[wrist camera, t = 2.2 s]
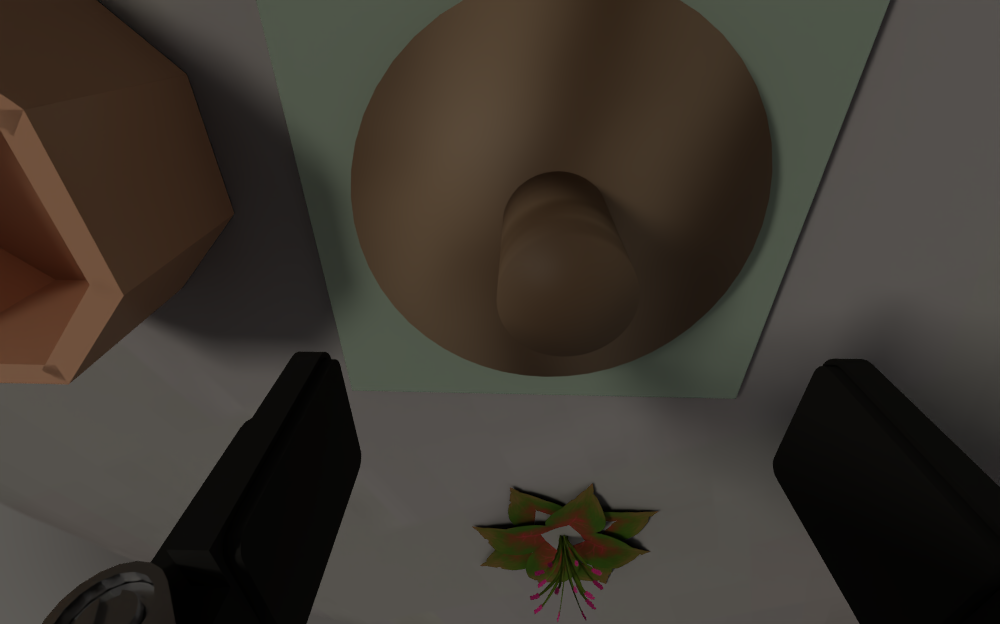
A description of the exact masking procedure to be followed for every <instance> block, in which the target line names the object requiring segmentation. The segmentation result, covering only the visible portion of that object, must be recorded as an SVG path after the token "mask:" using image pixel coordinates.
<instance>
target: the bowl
mask: <svg viewBox="0 0 1000 624" xmlns="http://www.w3.org/2000/svg"><path fill="white" fill-rule="evenodd" d="M233 215H234V211H233V208H232V205H231V202H230V199H229V197H228V194H227V191H226V188H225V185H224V182H223V179H222V176H221V173H220V170H219V167H218V164H217V161H216V158H215V156H214V153H213V150H212V147H211V144H210V141H209V138H208V135H207V132H206V129H205V126H204V123H203V120H202V117H201V114H200V112H199V109H198V106H197V103H196V100H195V97H194V94H193V91H192V88H191V85H190V82H189V79H188V76H187V74H186V73H185V72H183V71H182V70H181V69H180V68H178V67H177V66H176V65H175V64H174V63H172V62H171V61H170V60H169V59H168V58H166V57H165V56H164V55H163V54H161V53H160V52H159V51H158V50H157V49H155V48H154V47H153V46H152V45H150V44H149V43H148V42H147V41H146V40H144V39H143V38H142V37H141V36H140V35H138V34H137V33H136V32H135V31H133V30H132V29H131V28H130V27H129V26H127V25H126V24H125V23H124V22H122V21H121V20H120V19H119V18H118V17H116V16H115V15H114V14H113V13H112V12H110V11H109V10H108V9H107V8H105V7H104V6H103V5H102V4H101V3H99V2H98V1H97V0H0V383H35V384H70V383H71V382H72V381H73V380H74V379H76V378H77V377H78V376H79V375H80V374H81V373H83V372H84V371H85V370H86V369H87V368H89V367H90V366H91V365H92V364H93V363H94V362H96V361H97V360H98V359H99V358H100V357H101V356H103V355H104V354H105V353H106V352H107V351H109V350H110V349H111V348H112V347H113V346H114V345H116V344H117V343H118V342H119V341H120V340H122V339H123V338H124V337H125V336H126V335H127V334H129V333H130V332H131V331H132V330H133V329H134V328H136V327H137V326H138V325H139V324H140V323H142V322H143V321H144V320H145V319H146V318H147V317H149V316H150V315H151V314H152V313H153V312H155V311H156V310H157V309H158V308H159V307H160V306H162V305H163V304H164V303H165V302H166V301H168V300H169V299H170V298H171V297H172V296H173V295H175V294H176V293H177V292H178V291H179V290H180V289H182V288H183V286H184V285H185V283H186V282H187V280H188V279H189V278H190V276H191V275H192V273H193V272H194V270H195V269H196V268H197V266H198V265H199V263H200V262H201V260H202V259H203V258H204V256H205V255H206V253H207V252H208V250H209V249H210V248H211V246H212V245H213V243H214V242H215V240H216V239H217V238H218V236H219V235H220V233H221V232H222V231H223V229H224V228H225V226H226V225H227V223H228V222H229V221H230V219H231V218H232V216H233Z"/></svg>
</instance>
